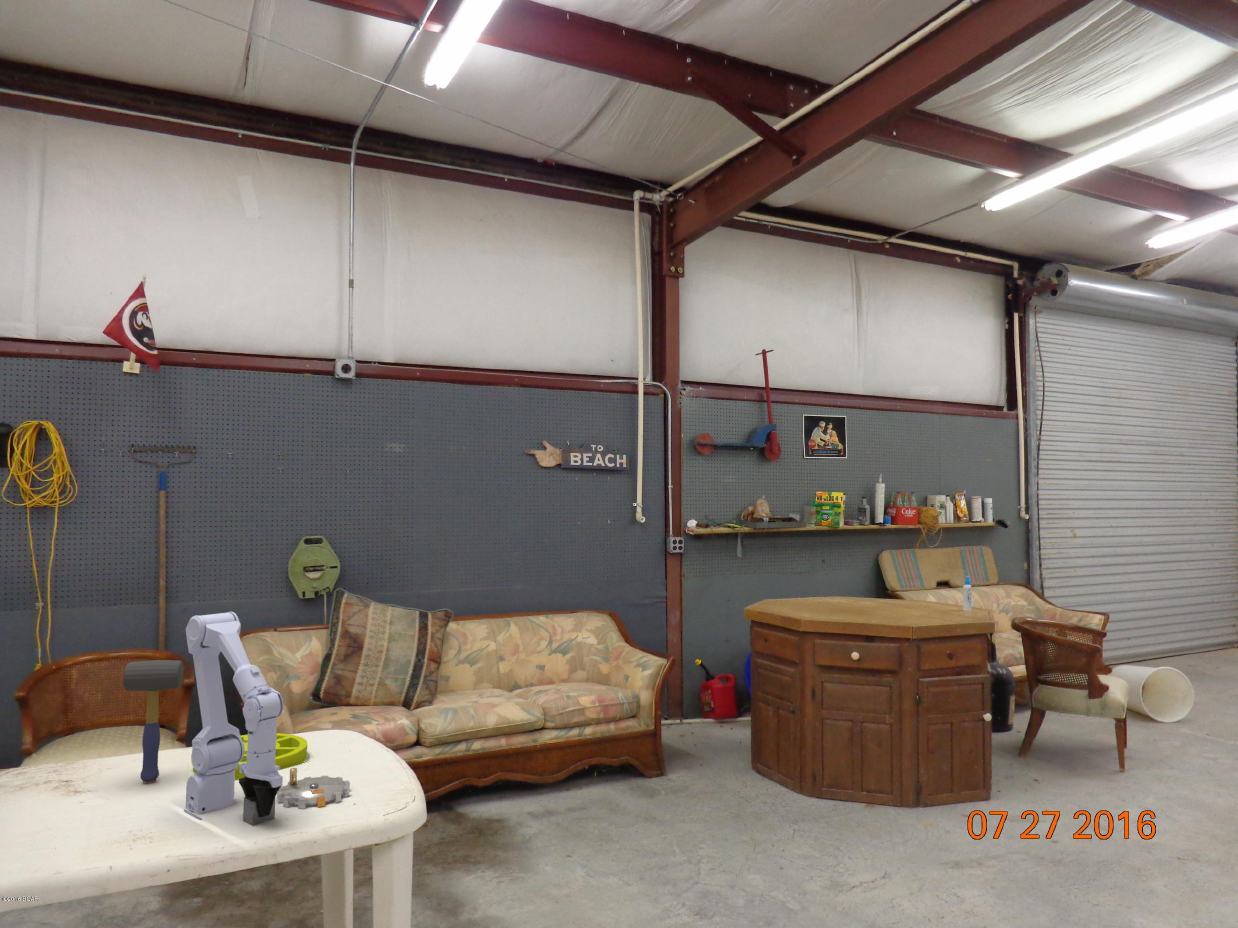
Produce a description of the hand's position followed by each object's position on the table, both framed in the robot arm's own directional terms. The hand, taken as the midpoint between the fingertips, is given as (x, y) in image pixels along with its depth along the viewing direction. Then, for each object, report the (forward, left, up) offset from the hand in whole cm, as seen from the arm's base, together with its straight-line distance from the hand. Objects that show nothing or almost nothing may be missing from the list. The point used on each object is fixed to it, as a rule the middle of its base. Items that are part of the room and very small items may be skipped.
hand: (259, 812), depth 176 cm
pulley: (+21, +42, -3) cm, 47 cm away
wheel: (+16, +4, -1) cm, 16 cm away
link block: (0, 0, -2) cm, 2 cm away
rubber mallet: (-3, +46, -3) cm, 46 cm away
